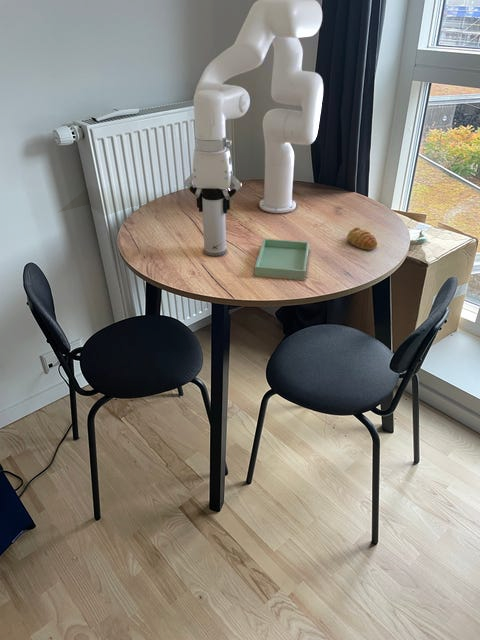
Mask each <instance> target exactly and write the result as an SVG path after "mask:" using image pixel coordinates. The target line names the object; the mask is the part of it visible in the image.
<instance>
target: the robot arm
mask: <svg viewBox="0 0 480 640" xmlns="http://www.w3.org/2000/svg"><path fill="white" fill-rule="evenodd" d="M322 9H323V8H322V7H321V5H320V3H319V2H318V1H317V0H256V1H255V2H254V3H253V4H252V6H251V8H250V10H249V12H248V14H247V16H246V18H245V20H244V22H243V25H242V26H241V28H240V31H239V32H238V35H237V37H236V40H235V41H234V43H233V44H232V45H231V46H229V47H228V48H226V49H225V50H224V51H223V52H221V53H220V54H218V56H216V57H215V58H214V59H213V60H211V61H210V62H209V63H208V65H207V66H206V67H205V68H204V71H203V72H202V74H201V76H200V79H199V81H198V83H197V85H196V88H195V92H194V96H193V113H194V115H193V116H194V130H195V146H196V147H195V148H194V150H193V156H192V173H191V174H190V175H189V176H188V177H187V178H186V179H185V180H184V181H183V184H184V186H185V187H186V188H187V189H188V190H189V191H190V192H191V193H192V194H193V195H194V197H195V198H196V208H198V212H199V213H203V210H202V189H223V190H222V192H223V194H224V196H225V198H224V213H225V215H226V214H228V212H229V210H231V198H232V197H233V196H234V195H235V194H236V193H237V192H238V191H239V190H240V189H241V188H242V187H243V183H242V182H241V181H240V180H239V179H238V178H237V177H236V176H235V175H234V174H233V165H232V164H233V163H232V156H231V151H230V148H229V147H231V146H232V140H231V139H228V138H227V135H226V134H227V133H226V121H227V120H233V119H239V118H241V117H243V116H245V114H246V113H247V112H248V110H249V108H250V105H251V99H250V94H249V92H248V91H247V89H245V88H244V87H242V86H240V85H233V84H225V82H226V81H228V80H229V79H231V78H234V77H236V76H238V75H242V74H244V73H247V72H250V71H252V70H255V69H257V68H258V67H260V66H261V65H262V64H263V63H264V61H265V58H266V56H267V54H268V51H269V49H270V47H271V44H272V47H273V63H272V74H271V86H270V96H271V99H272V100H273V101H274V102H275V103H278V104H282V105H287V106H288V105H289V106H297V107H301V110H295V109H288V108H279V107H278V108H272V109H270V110H268V111H267V112H266V113H265V115H264V116H263V120H262V131H263V141H264V185H263V186H264V187H263V188H264V189H263V198H262V199H261V200H260V201H259V203H258V206H259V208H260V209H261V210H262V211H264V212H267V213H272V214H285V213H289V212H292V211H294V210H296V207H297V203H296V201H295V200H293V187H294V186H293V184H294V183H293V182H294V170H295V169H294V167H295V152H294V149H293V146H292V145H291V144H293V145H299V146H309V145H311V144H313V143H314V142H315V141H316V138H317V136H318V131H319V125H320V119H321V112H322V105H323V104H322V103H323V97H324V81H323V78H322V76H321V75H320V74H319V73H318V72H314V71H309V70H303V69H302V67H303V56H304V49H303V46H302V43H301V41H300V39H301V38H310V37H313V36H314V35H316V34H317V33H318V32H319V30H320V28H321V26H322V22H323V10H322ZM231 184H233V185H234V186H233V187H232V188H230V187H231Z"/></svg>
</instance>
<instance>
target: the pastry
mask: <svg viewBox="0 0 480 640" xmlns="http://www.w3.org/2000/svg"><path fill="white" fill-rule="evenodd" d="M346 239H347V241H348V242H349V243H350V244H351V245H353V246H354V247H355V246H356V247H357V248H359V249H362V250H367V251H370V250H373V249H375V248H377V246H378V241H377V238H375V237H374V235H373V233H371V231H368V229H362V228H361V227H354V228H352V229H351V230H349V232H348V233H347V235H346Z"/></svg>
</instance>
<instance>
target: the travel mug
mask: <svg viewBox="0 0 480 640" xmlns="http://www.w3.org/2000/svg"><path fill="white" fill-rule="evenodd" d="M222 190H223V189H202V210H203V211H202V229H203V247H204V253H205V254H206V255H208V256H211V257H219V256H222V255H224V254H225V253H226V252H227V234H226V233H227V232H226V230H227V229H226V228H227V227H226V214H225V213H224V198H225V196H224V194H223V192H222Z"/></svg>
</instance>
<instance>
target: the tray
mask: <svg viewBox="0 0 480 640" xmlns="http://www.w3.org/2000/svg"><path fill="white" fill-rule="evenodd" d="M309 248H310V241H303V240H302V241H301V240H287V239H275V238H263V240H262V243H261V246H260V249H259V252H258V256H257V259H256V262H255V265H254V277H261V278H262V277H263V278H273V279H285V280H296V281H305V278H306V271H307V264H308V257H309Z"/></svg>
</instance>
